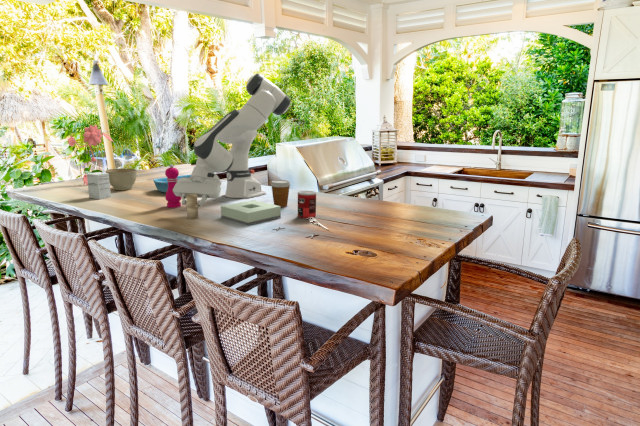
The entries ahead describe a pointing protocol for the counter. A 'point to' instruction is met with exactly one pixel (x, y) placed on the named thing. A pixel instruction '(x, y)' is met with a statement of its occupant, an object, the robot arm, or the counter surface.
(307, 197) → the canned food
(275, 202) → the disposable coffee cup
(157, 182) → the casserole dish
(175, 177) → the pepper mill
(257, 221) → the socket block
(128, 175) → the planter bowl
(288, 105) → the robot arm
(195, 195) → the birch peg
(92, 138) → the red flower plant
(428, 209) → the counter surface
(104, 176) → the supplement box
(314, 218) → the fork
